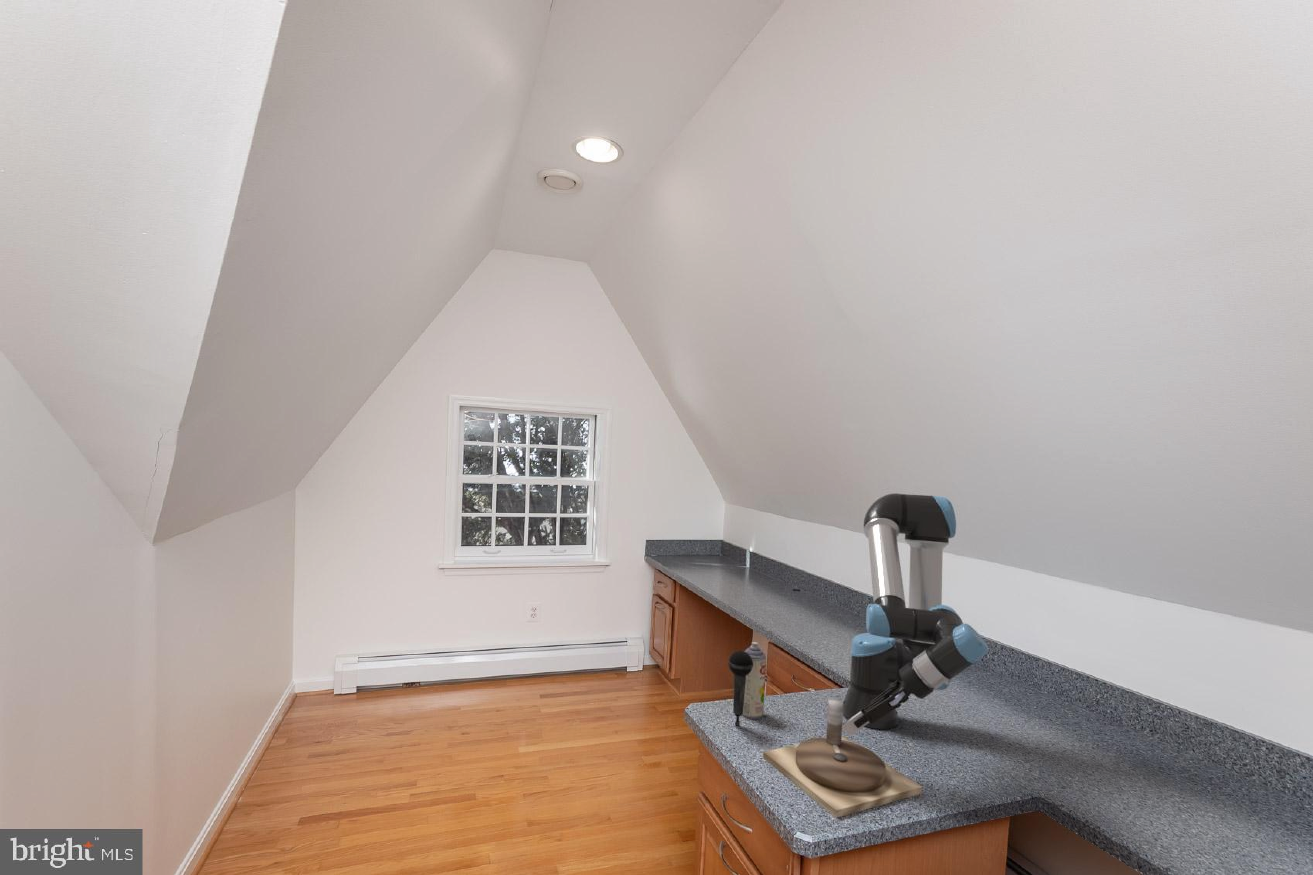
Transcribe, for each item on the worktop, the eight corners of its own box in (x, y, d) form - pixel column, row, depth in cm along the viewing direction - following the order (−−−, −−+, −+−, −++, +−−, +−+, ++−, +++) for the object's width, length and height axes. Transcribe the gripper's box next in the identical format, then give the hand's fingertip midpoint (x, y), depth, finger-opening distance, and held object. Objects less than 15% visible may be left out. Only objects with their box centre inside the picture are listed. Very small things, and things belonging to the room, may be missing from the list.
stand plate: (841, 741, 155) (841, 733, 155) (921, 793, 132) (922, 784, 132) (763, 757, 144) (763, 749, 144) (835, 817, 121) (836, 808, 121)
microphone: (730, 732, 156) (734, 656, 157) (720, 720, 163) (724, 647, 163) (754, 730, 158) (758, 655, 158) (743, 719, 165) (747, 646, 165)
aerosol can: (761, 720, 164) (765, 648, 164) (737, 716, 166) (741, 644, 166) (764, 710, 171) (768, 641, 171) (740, 706, 173) (744, 637, 173)
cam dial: (896, 797, 127) (898, 740, 127) (801, 785, 129) (804, 730, 130) (873, 750, 147) (875, 702, 147) (791, 741, 149) (793, 693, 150)
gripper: (933, 699, 129) (852, 755, 137) (937, 680, 141) (862, 733, 149) (908, 669, 132) (829, 726, 139) (913, 653, 144) (840, 706, 151)
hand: (846, 729), depth 144 cm, fingers closed
